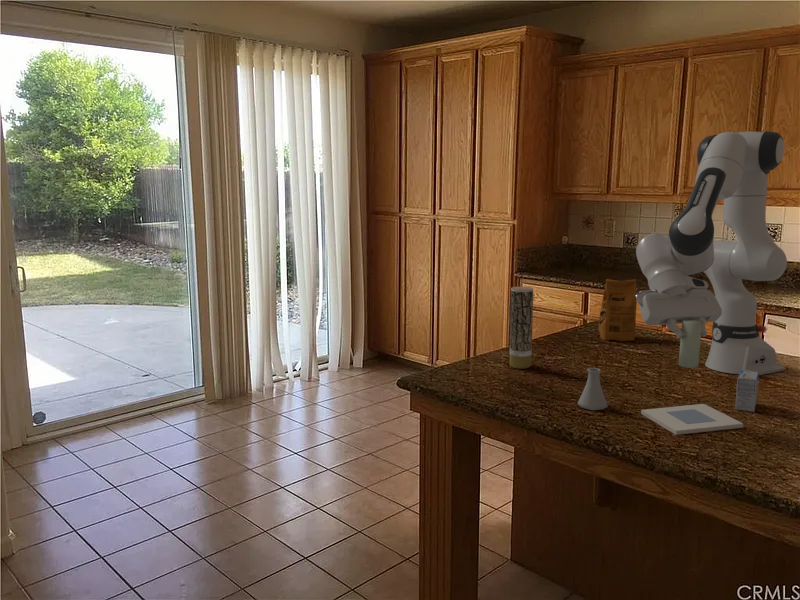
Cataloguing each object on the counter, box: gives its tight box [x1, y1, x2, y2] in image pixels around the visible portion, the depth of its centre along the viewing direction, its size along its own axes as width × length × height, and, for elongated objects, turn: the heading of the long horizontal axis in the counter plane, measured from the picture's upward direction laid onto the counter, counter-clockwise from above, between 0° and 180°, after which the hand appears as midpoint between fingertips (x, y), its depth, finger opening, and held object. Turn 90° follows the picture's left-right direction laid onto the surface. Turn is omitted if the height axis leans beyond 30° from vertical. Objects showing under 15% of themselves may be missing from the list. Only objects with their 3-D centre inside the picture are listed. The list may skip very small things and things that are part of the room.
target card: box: [640, 403, 744, 436], centre depth 159 cm, size 18×14×1 cm
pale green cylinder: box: [678, 319, 702, 369], centre depth 157 cm, size 4×4×11 cm
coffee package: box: [598, 278, 638, 342], centre depth 236 cm, size 10×12×22 cm
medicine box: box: [734, 370, 760, 413], centre depth 167 cm, size 8×4×9 cm, turn 148°
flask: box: [577, 367, 609, 411], centre depth 168 cm, size 7×7×10 cm
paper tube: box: [509, 286, 534, 370], centre depth 203 cm, size 7×7×25 cm
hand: (692, 336), depth 156 cm, fingers closed on pale green cylinder, 4 cm apart
